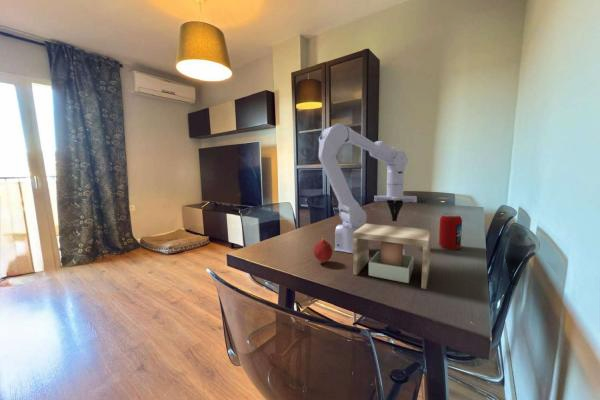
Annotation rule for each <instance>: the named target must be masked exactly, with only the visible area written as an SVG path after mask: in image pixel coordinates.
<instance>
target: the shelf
mask: <svg viewBox="0 0 600 400" xmlns="http://www.w3.org/2000/svg"><path fill="white" fill-rule="evenodd" d="M431 233H432V230H431V228H430V229H429V228H419V227H410V226H409V227H408V226H396V225H389V224H388V225H386V224H375V223H365V224H364V225H363V226H362V227H360V228H359V229H357V230H356V231H355V232H353V253H352V261H353V262H352V263H353V264H352V270H353V273H352V274H353V275H354V276H358V275H359V274H360V272H361V271H362V270H363V269H364V267H365V266H366V265H367V263H369V261H370V259H369V257H370V255H369V254H370V253H369V251H370V241H376V242H377V241H378V242H381V241H384V242H392V243H400V244H403V245H407V246H408V245H409V246H410V245H411V246H417V247H422V259H421V260H422V261H421V284H420V285H421V286H420V288H421V289H423V290H426V289H427V286H428V280H429V279H428V278H429V273H430V262H431V261H430V259H431V257H430V256H431V238H432V237H431Z"/></svg>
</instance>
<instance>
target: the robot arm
mask: <svg viewBox="0 0 600 400" xmlns="http://www.w3.org/2000/svg"><path fill="white" fill-rule="evenodd" d="M318 143H319V144H318V159H319V162H320V164H321V166H322V168H323V171H324V173H325V175H326V178H327V180H328V181H329V185H330V186H331V189H332V190H333V193H334V195H335V197H336V199H337V202H338V206H337V208H338V211H339V218H340V220H341V221H342V224H337V225H336V227H335V231H334V249H333V250H334V251H336V252H342V253H349V254H353V232H355V231H356V230H357V229H359V228H360V227H362V226H363V225H364V224H366V223H367V218H368V217H367V212H366V211H365V210H364V209H362V207H361V205H360V203H359V202H358V201H357V200H356V199H355V198H354V196H353V193H352V191H351V190H350V187H349V184H348V182H347V180H346V178H345V175H344V173H343V171H342V168H341V167H340V164H339V162H338V159H337V154H338V152H339V150H340V148H341V147H342V145H343V144H352V145H354V146H356V147H358V148H361V149H363V150H365V151H367V152H368V153H369V156H370V157H372V158H373V159H376V160H378V161H380V162H382V163H383V164H384V165H385V166H386V195H373V196H374V199H373V201H374V202H386V203H387V206H388V209H389V211H390V215H391V220H392V222H398V221H397V220H398V216H399V214H400V211H401V208H402V207H403V205H404V202H407V203H408V202H414V203H417V202H418V201H417V200H418V199H417V196H416V195H404V188H405V187H404V185H405V184H404V182H405V181H404V179H405V170H406V165H407V164H408V162H409V157H408V156H407V154H406V152H405V151H403V150H397V149H396V147H395V146H390V145H387V144H385V141H384V140H381V141H380V140H377V141H375V142H374V141H372V140H370V139H368V137H365V136H363V135H362V134H360V133H358V132H357V131H355V130H353V129H352V128H351V127H350V126H345V124H343V123H334V124H333V125H332V126H330V127H327V128H325V129H323V130H322V131H321V133H320V135H319V136H318Z"/></svg>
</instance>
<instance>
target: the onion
mask: <svg viewBox="0 0 600 400" xmlns="http://www.w3.org/2000/svg"><path fill="white" fill-rule="evenodd" d="M313 255H314V257H315V259H317V261H318V262H320V263H322V264H325V263H326V262H328V261H330V259H331V258H332V256H333V247H332V245H331V244H330V243H329V242H328V241H327V240H325V238H323V237H322V238H320V241H318V242H317V243H316V244H315V245H314V248H313Z"/></svg>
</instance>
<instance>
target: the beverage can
mask: <svg viewBox="0 0 600 400" xmlns="http://www.w3.org/2000/svg"><path fill="white" fill-rule="evenodd" d="M462 227H463V219H462V217H461V215H460V214H457V213H452V212H451V213H450V212H449V213H448V212H445V213H442V214H441V216H440V218H439V231H438V233H439V234H438V245H439V246H440V247H441V248H443V249H445V250H457V249H459V248H461V244H462V232H463V231H462V230H463V228H462Z"/></svg>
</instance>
